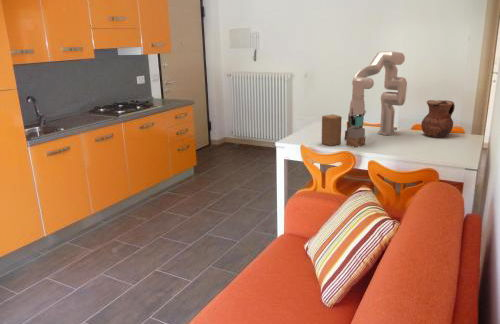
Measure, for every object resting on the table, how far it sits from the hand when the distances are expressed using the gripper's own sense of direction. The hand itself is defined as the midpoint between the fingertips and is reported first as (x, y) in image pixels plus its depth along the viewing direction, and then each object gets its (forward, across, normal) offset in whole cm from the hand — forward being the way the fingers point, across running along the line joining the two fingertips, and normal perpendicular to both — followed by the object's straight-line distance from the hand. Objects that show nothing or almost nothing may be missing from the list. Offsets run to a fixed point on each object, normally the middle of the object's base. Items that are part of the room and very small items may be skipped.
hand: (356, 123), depth 277 cm
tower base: (+15, 0, 0) cm, 15 cm away
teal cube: (+1, 0, 0) cm, 1 cm away
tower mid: (+9, 0, 0) cm, 9 cm away
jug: (+15, -65, +16) cm, 69 cm away
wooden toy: (+15, -14, -16) cm, 26 cm away
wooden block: (+15, +11, -13) cm, 23 cm away
